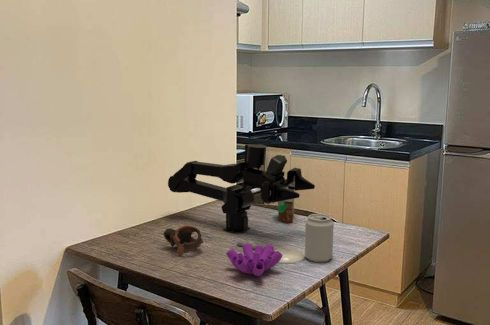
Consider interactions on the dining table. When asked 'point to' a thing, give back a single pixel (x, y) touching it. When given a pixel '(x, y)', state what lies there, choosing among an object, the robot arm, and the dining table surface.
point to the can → (319, 237)
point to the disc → (290, 256)
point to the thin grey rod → (243, 244)
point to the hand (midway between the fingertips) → (307, 191)
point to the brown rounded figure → (183, 238)
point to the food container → (286, 210)
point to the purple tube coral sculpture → (254, 259)
